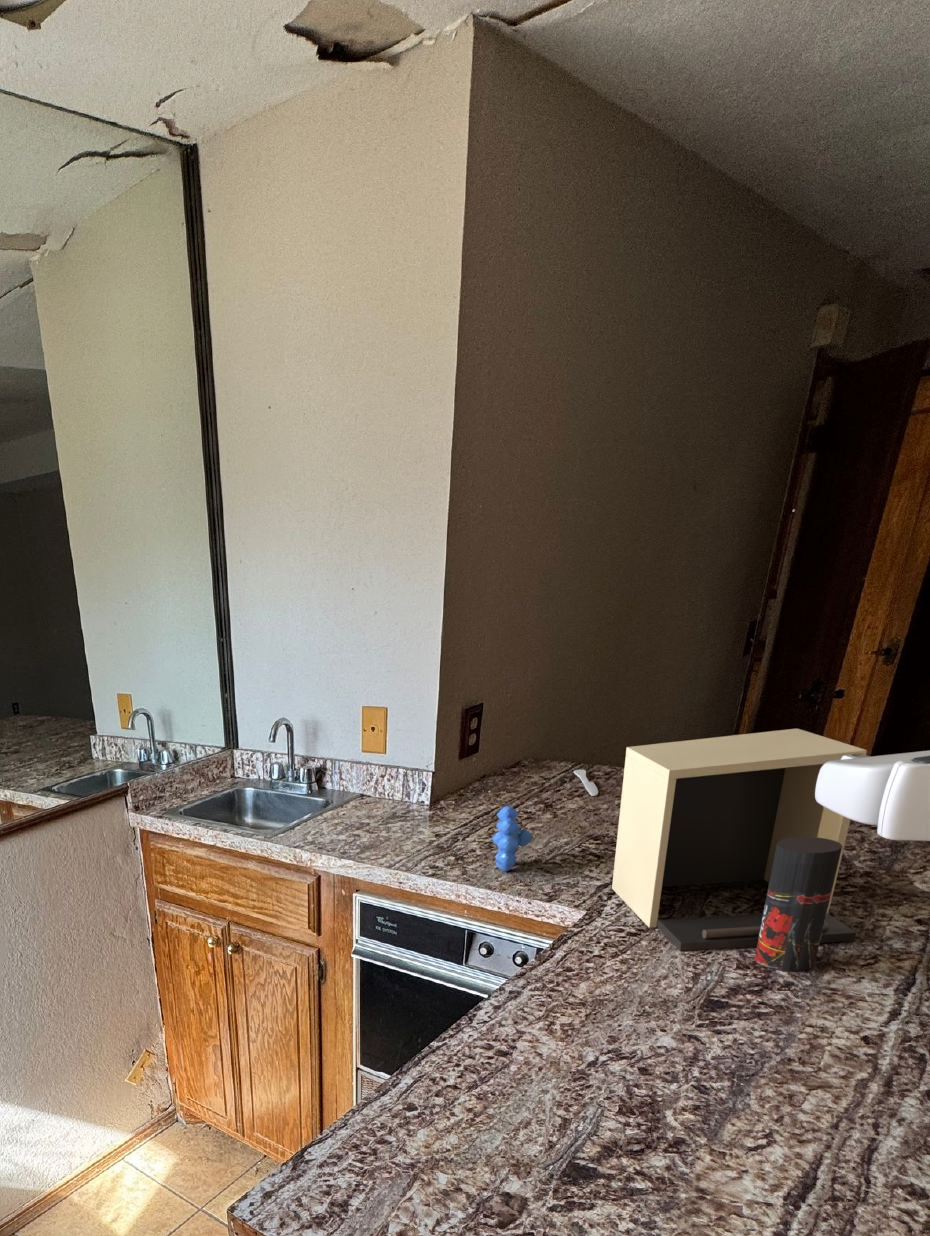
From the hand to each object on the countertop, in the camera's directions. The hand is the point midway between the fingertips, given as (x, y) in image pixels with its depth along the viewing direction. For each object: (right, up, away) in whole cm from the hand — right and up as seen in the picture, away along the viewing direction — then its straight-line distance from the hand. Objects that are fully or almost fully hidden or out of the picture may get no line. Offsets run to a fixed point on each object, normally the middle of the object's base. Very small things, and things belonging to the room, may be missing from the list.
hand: (905, 757), depth 74 cm
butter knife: (+25, +24, +104) cm, 110 cm away
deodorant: (+6, -19, +23) cm, 30 cm away
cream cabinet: (+9, -12, +37) cm, 40 cm away
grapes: (-11, -2, +63) cm, 64 cm away
